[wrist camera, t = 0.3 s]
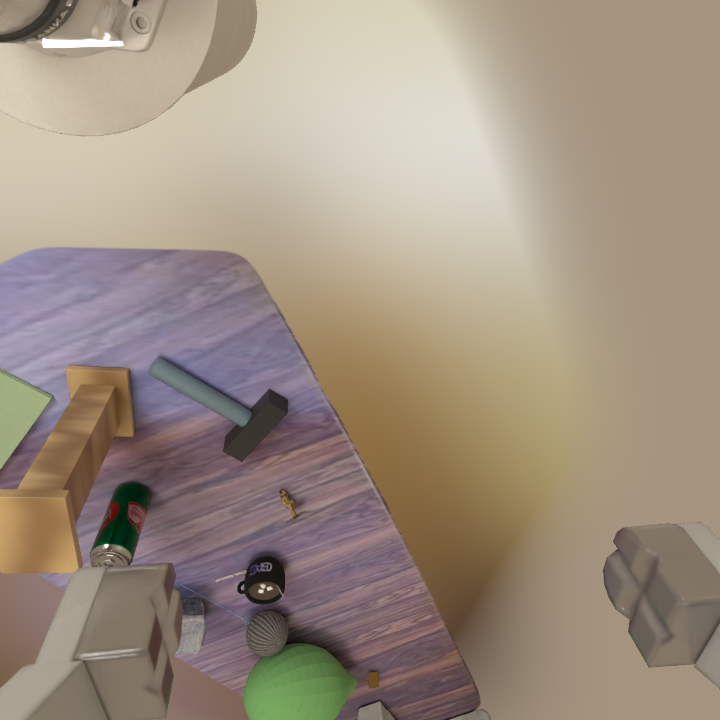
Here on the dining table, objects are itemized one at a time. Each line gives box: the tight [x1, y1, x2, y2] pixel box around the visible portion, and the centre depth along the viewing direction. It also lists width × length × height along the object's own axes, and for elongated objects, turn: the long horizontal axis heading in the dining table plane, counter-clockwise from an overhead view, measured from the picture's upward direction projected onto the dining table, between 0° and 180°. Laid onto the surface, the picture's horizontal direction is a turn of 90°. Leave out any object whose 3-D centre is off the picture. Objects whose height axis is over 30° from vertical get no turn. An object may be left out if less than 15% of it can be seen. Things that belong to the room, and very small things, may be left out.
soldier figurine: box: [280, 490, 305, 524], centre depth 79 cm, size 2×1×4 cm
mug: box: [215, 557, 285, 604], centre depth 84 cm, size 12×6×8 cm, turn 108°
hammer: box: [148, 357, 288, 462], centre depth 68 cm, size 16×10×3 cm, turn 49°
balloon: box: [244, 643, 379, 720], centre depth 96 cm, size 14×14×30 cm
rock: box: [174, 599, 207, 655], centre depth 85 cm, size 15×8×10 cm, turn 81°
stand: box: [0, 365, 135, 573], centre depth 59 cm, size 7×10×22 cm
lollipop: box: [178, 583, 288, 657], centre depth 89 cm, size 10×20×7 cm
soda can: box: [90, 483, 151, 567], centre depth 71 cm, size 5×5×12 cm
